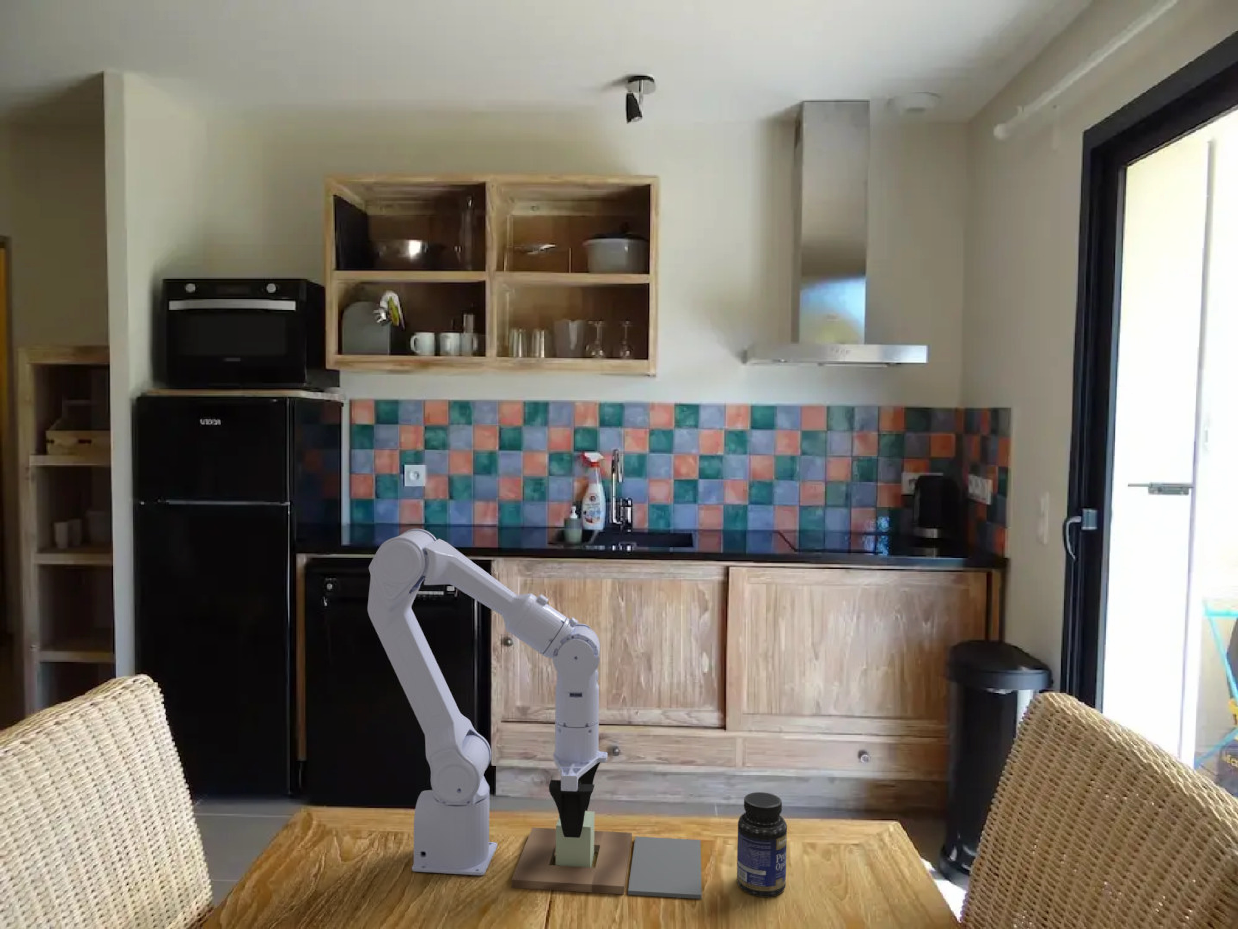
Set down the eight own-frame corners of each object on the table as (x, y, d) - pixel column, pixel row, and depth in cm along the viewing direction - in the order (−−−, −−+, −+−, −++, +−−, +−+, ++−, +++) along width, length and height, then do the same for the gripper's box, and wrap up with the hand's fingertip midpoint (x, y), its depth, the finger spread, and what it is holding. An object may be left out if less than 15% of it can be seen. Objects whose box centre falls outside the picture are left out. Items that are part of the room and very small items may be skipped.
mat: (628, 894, 106) (628, 890, 106) (635, 840, 120) (635, 836, 120) (701, 899, 106) (701, 895, 106) (700, 843, 119) (700, 840, 119)
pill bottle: (785, 901, 105) (787, 813, 105) (734, 895, 106) (736, 807, 106) (785, 876, 111) (787, 791, 111) (738, 870, 113) (739, 787, 112)
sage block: (555, 870, 112) (555, 825, 112) (560, 853, 116) (561, 809, 116) (590, 872, 111) (590, 827, 111) (594, 855, 116) (594, 811, 116)
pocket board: (511, 887, 107) (511, 879, 107) (532, 834, 121) (532, 827, 121) (623, 894, 106) (624, 886, 106) (631, 840, 120) (631, 832, 120)
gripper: (601, 742, 105) (600, 851, 106) (612, 703, 120) (611, 799, 120) (544, 739, 106) (543, 848, 107) (562, 701, 120) (561, 797, 121)
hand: (576, 822), depth 114 cm, fingers open, 7 cm apart
